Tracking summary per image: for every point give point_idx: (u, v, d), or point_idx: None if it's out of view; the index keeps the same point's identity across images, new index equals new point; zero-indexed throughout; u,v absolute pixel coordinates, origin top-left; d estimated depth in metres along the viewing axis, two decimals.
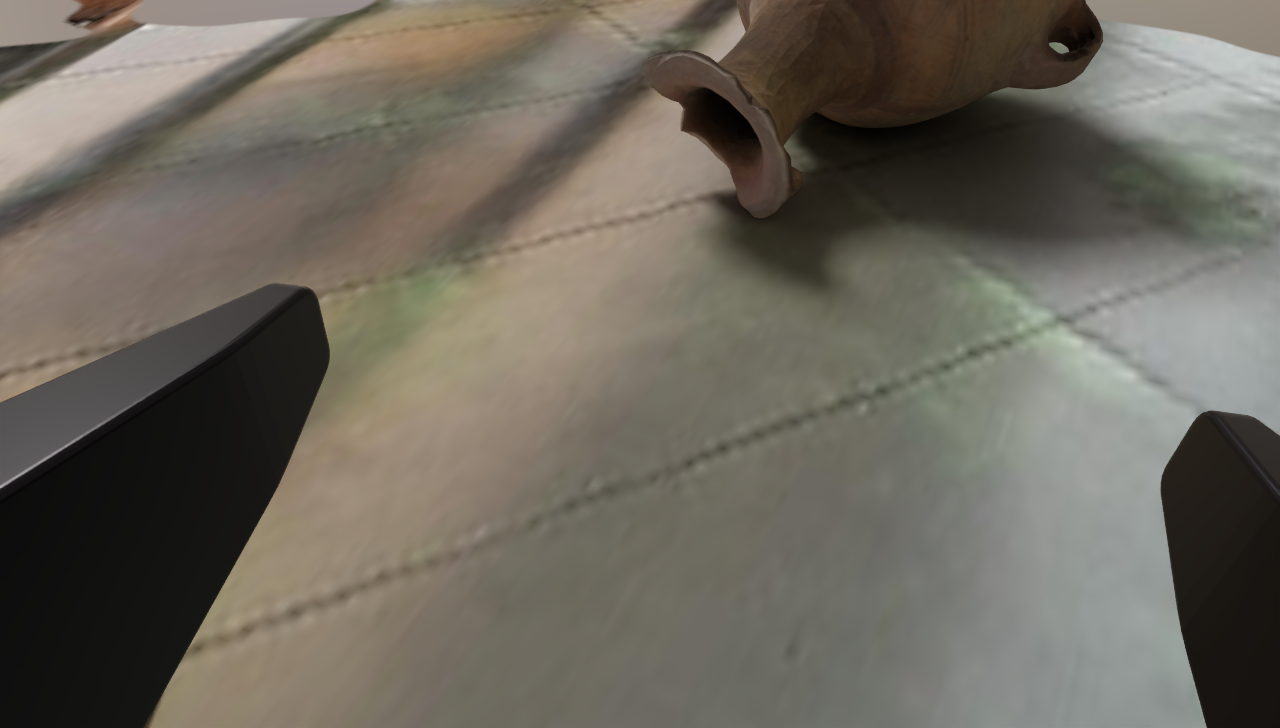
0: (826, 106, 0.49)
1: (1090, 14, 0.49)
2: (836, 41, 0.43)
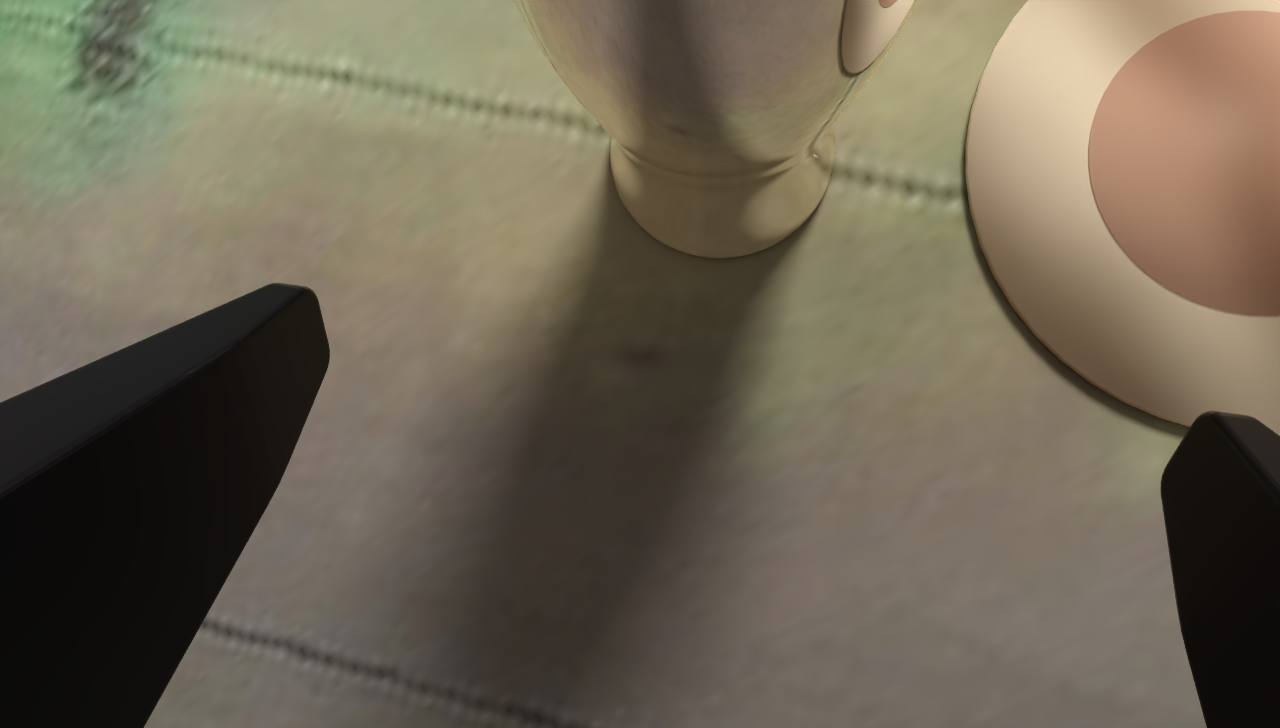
0: None
1: None
2: None
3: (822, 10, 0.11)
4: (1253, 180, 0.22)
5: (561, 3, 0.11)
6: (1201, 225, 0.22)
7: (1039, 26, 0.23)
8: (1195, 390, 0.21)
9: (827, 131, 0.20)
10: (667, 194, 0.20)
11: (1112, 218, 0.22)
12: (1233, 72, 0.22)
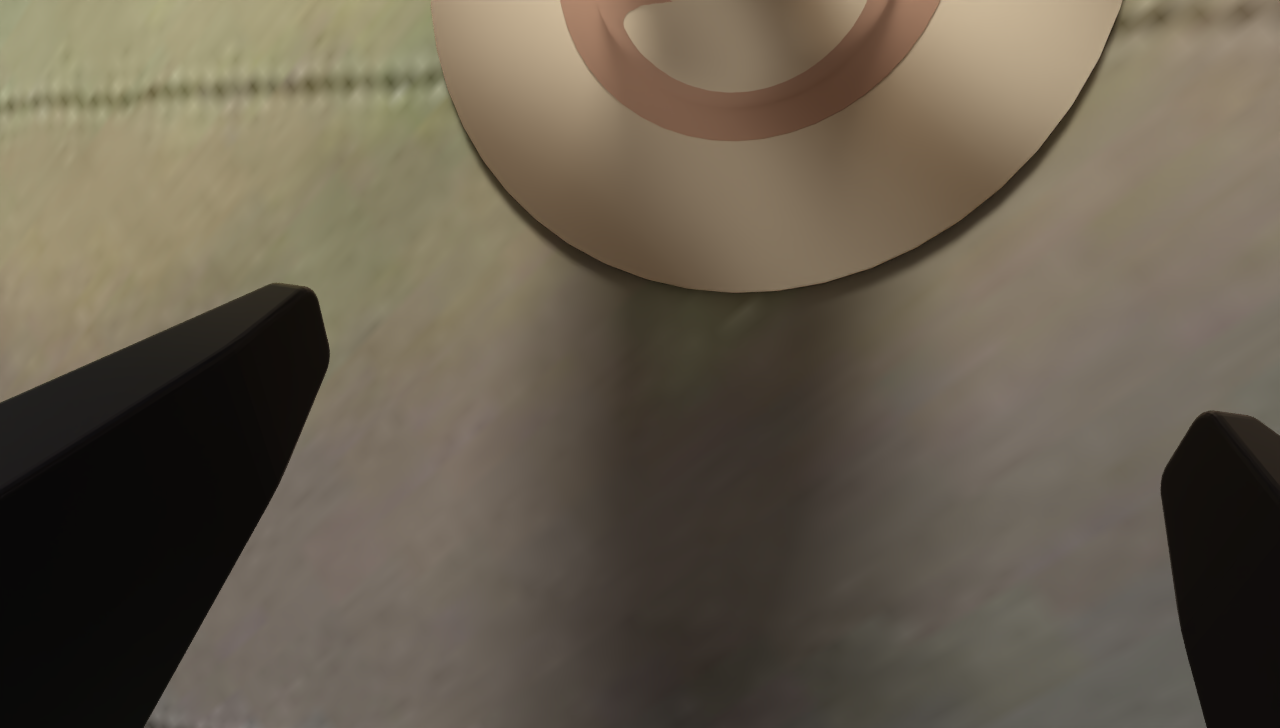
0: None
1: None
2: None
3: None
4: None
5: None
6: None
7: None
8: (714, 247, 0.17)
9: None
10: (665, 22, 0.14)
11: (593, 60, 0.18)
12: None
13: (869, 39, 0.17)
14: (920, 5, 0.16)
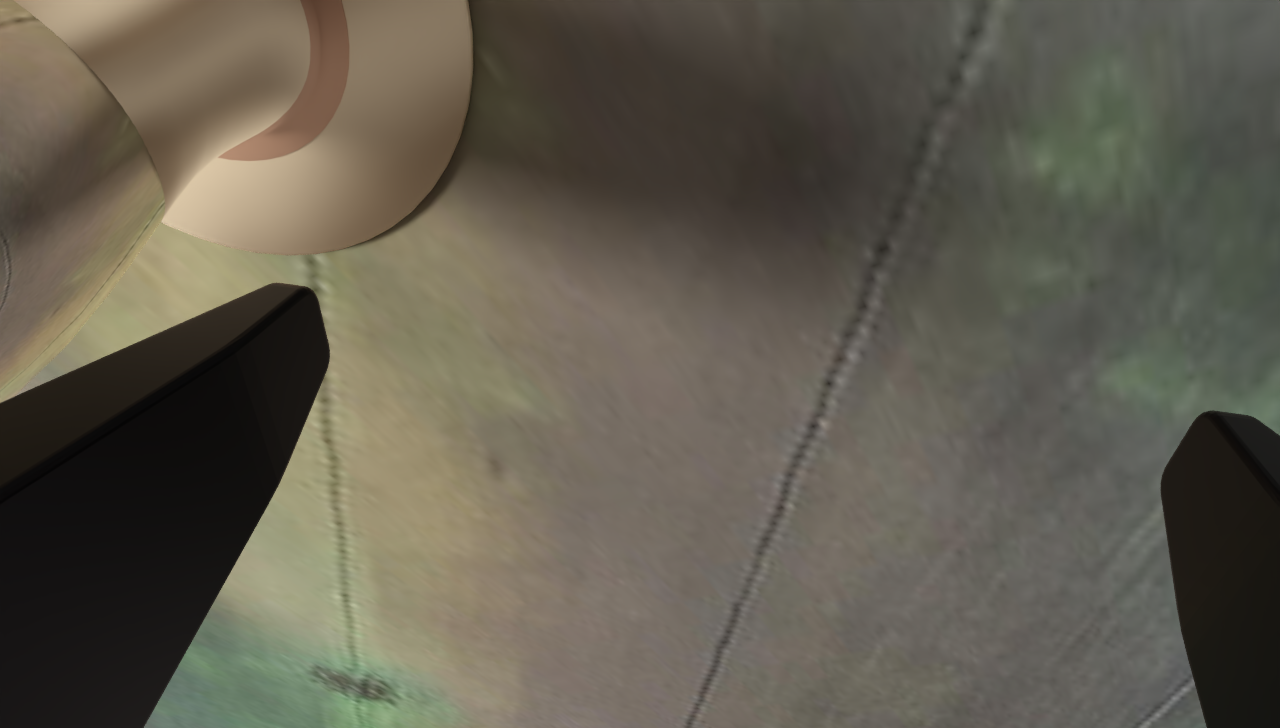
0: None
1: None
2: None
3: None
4: None
5: None
6: None
7: None
8: (433, 80, 0.21)
9: None
10: (232, 120, 0.19)
11: (290, 145, 0.23)
12: None
13: None
14: None
